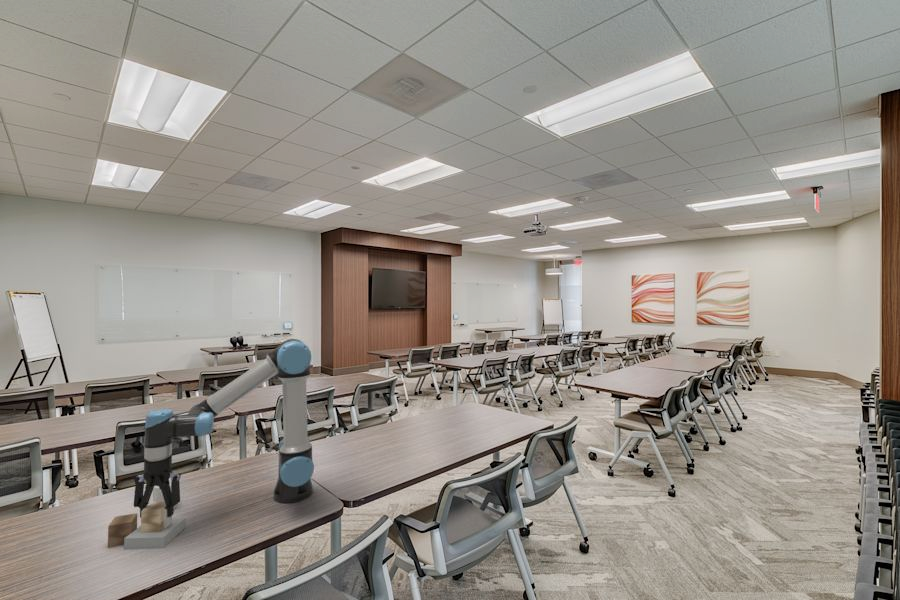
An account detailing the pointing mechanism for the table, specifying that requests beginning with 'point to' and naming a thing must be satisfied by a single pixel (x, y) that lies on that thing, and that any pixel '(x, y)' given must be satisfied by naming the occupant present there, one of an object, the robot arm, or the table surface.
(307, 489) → the robot arm
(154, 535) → the grey block
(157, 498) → the white cup
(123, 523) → the walnut block
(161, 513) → the maple block
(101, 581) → the table surface
